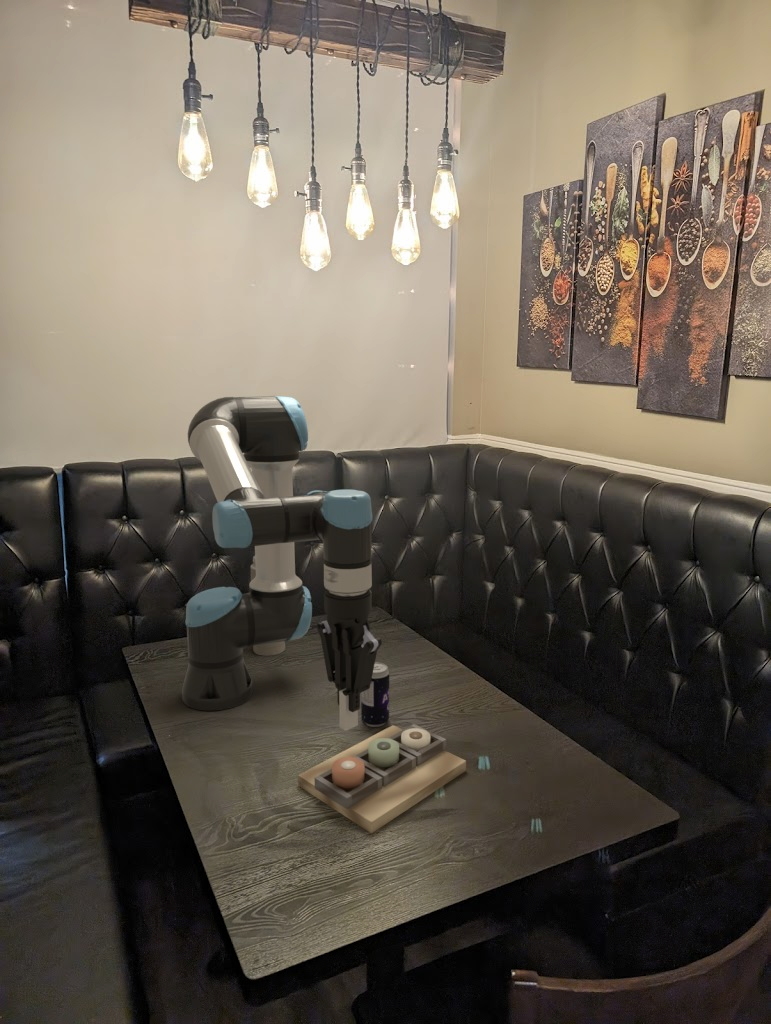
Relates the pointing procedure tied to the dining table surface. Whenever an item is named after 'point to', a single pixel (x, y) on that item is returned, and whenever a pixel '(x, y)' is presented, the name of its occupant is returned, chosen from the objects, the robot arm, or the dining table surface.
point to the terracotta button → (348, 772)
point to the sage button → (383, 752)
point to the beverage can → (376, 698)
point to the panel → (385, 780)
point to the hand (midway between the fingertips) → (348, 726)
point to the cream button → (415, 739)
